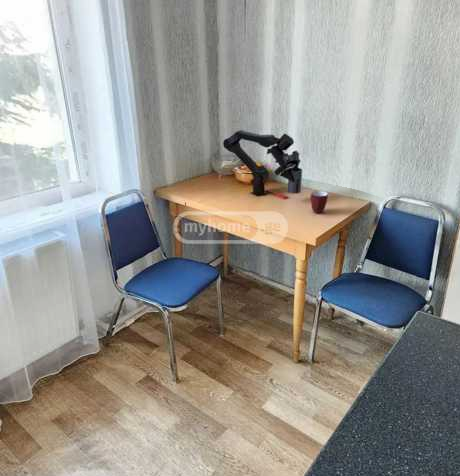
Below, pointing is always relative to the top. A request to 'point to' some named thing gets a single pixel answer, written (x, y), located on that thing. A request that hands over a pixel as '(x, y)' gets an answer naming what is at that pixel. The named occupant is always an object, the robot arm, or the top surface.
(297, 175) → the grey cylindrical cup
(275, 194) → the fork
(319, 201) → the mug
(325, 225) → the top surface
